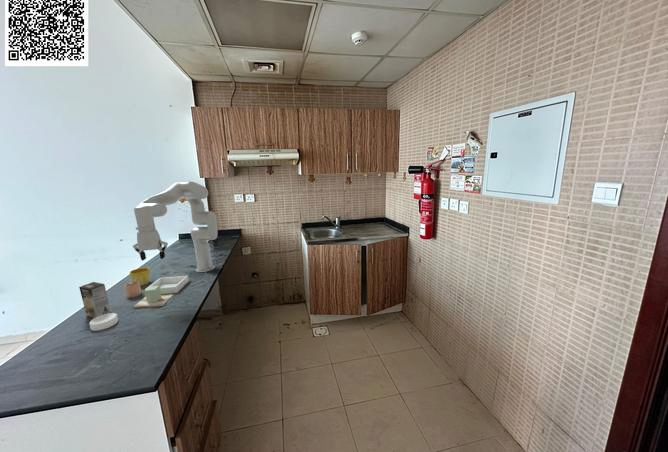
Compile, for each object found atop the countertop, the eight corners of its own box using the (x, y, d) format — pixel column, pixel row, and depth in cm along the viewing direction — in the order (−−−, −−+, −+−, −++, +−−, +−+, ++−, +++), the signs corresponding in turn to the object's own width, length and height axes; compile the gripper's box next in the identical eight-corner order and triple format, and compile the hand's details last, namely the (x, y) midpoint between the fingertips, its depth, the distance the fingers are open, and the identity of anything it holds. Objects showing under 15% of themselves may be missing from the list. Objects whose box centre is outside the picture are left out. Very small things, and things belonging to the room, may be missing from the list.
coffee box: (85, 316, 132) (78, 286, 129) (100, 310, 138) (93, 281, 135) (97, 319, 129) (90, 288, 126) (112, 312, 135) (105, 283, 132)
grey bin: (161, 284, 168) (159, 277, 167) (189, 282, 170) (188, 275, 169) (145, 296, 151) (144, 289, 151) (177, 294, 153) (175, 286, 152)
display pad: (146, 297, 150) (145, 296, 150) (174, 295, 152) (173, 293, 152) (133, 308, 138) (132, 306, 138) (163, 305, 140) (163, 304, 140)
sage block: (152, 298, 147) (149, 286, 146) (161, 297, 148) (159, 285, 146) (146, 302, 142) (144, 290, 141) (156, 301, 143) (154, 289, 141)
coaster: (109, 329, 120) (108, 322, 120) (85, 332, 119) (83, 325, 118) (122, 317, 130) (121, 311, 129) (100, 320, 128) (98, 314, 128)
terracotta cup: (131, 293, 156) (129, 281, 154) (144, 292, 157) (141, 280, 155) (124, 299, 149) (121, 286, 148) (137, 298, 150) (134, 285, 148)
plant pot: (156, 281, 174) (153, 267, 171) (143, 288, 163) (140, 273, 161) (141, 281, 175) (138, 267, 173) (128, 288, 165) (125, 273, 162)
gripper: (125, 231, 136) (132, 262, 140) (160, 229, 138) (166, 260, 142) (133, 228, 143) (140, 257, 147) (167, 226, 145) (173, 255, 149)
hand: (153, 258), depth 144 cm, fingers open, 9 cm apart
